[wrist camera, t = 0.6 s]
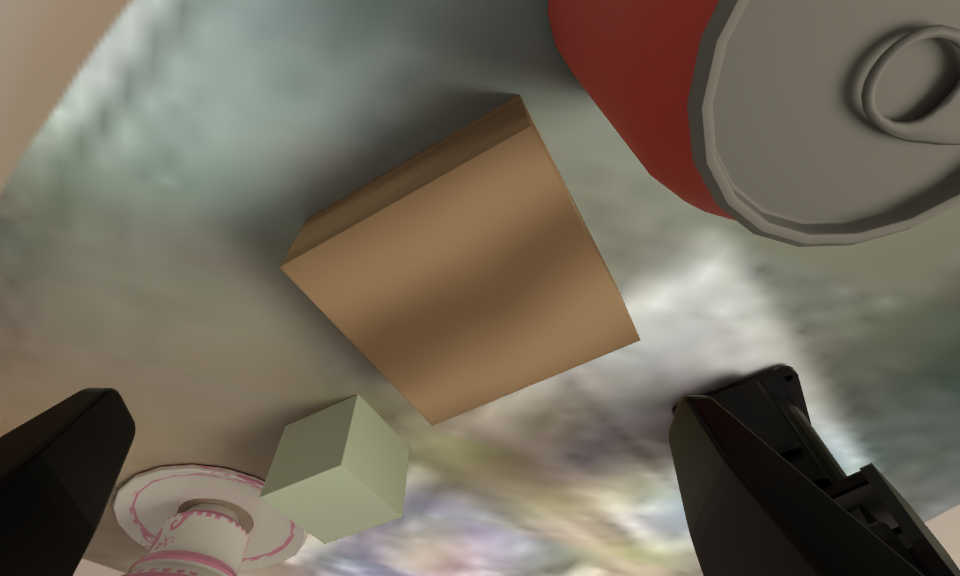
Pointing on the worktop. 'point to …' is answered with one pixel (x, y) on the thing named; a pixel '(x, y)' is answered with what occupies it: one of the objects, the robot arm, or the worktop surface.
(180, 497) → the teacup
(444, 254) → the walnut block
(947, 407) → the worktop surface
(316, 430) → the sage block
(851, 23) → the beer can
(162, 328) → the worktop surface
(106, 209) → the worktop surface
